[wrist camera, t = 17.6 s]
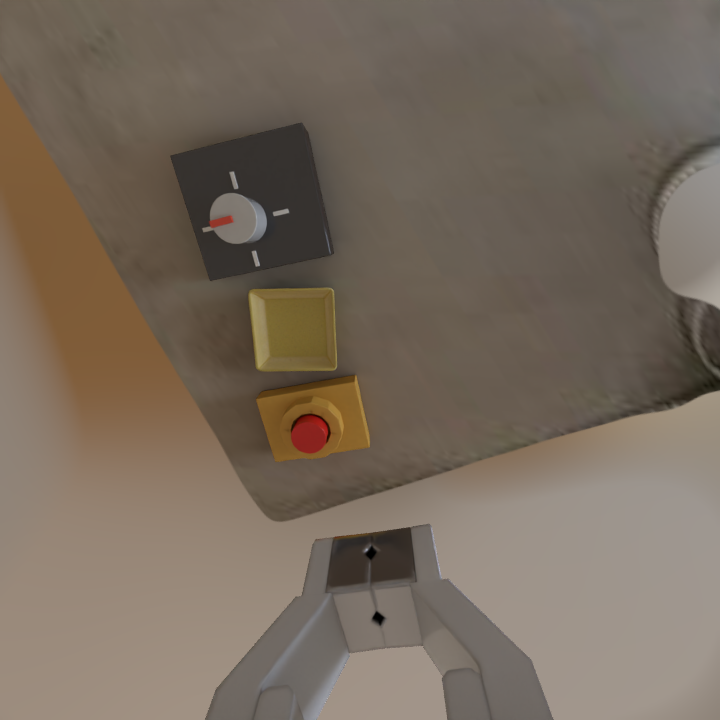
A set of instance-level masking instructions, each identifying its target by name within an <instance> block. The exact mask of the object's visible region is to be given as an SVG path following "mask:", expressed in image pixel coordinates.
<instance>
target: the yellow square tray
mask: <svg viewBox="0 0 720 720" xmlns="http://www.w3.org/2000/svg"><path fill="white" fill-rule="evenodd" d="M248 301H249V309H250V317H251V327H252V335H253V345H254V354H255V366H256V369H257V370H259V371H333V370H335V369H336V368H337V352H336V331H335V307H334V291H333V289H332V288H289V289H286V288H285V289H251V290H250V291H249V293H248Z"/></svg>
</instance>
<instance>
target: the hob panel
mask: <svg viewBox="0 0 720 720" xmlns="http://www.w3.org/2000/svg"><path fill="white" fill-rule="evenodd" d="M171 160H172V163H173V166H174V169H175V172H176V175H177V178H178V182H179V185H180V188H181V191H182V194H183V197H184V200H185V204H186V207H187V210H188V213H189V216H190V219H191V222H192V226H193V229H194V232H195V235H196V238H197V241H198V244H199V247H200V251H201V254H202V257H203V260H204V263H205V266H206V269H207V273H208V276H209V279H210V281H212V280H217V279H221V278H226V277H231V276H235V275H240V274H245V273H249V272H254V271H259V270H263V269H268V268H273V267H278V266H282V265H287V264H292V263H296V262H301V261H306V260H310V259H315V258H320V257H324V256H329V255H333V254H334V250H333V245H332V240H331V236H330V231H329V227H328V222H327V217H326V213H325V208H324V203H323V199H322V194H321V190H320V185H319V180H318V176H317V171H316V167H315V162H314V157H313V153H312V148H311V143H310V139H309V134H308V132H307V130H306V129H305V127H304V125H303V124H302V123H298V124H294V125H290V126H286V127H282V128H278V129H274V130H270V131H266V132H262V133H258V134H254V135H250V136H246V137H242V138H238V139H235V140H231V141H227V142H223V143H219V144H215V145H211V146H207V147H203V148H199V149H195V150H191V151H187V152H183V153H179V154H175V155H171ZM226 193H236V194H240V195H243V196H246V197H249V198H251V199H253V200H255V201H256V202H258V203H259V204H260V205H261V207H262V208H263V210H264V212H265V214H266V219H267V226H266V230H265V233H264V234H263V236H262V237H261V238H260V239H259V240H258V241H256V242H254V243H250V244H232V243H228V242H226V241H224V240H222V239H221V238H220V237H219V236H218V235H217V234H216V233H215V231H214V230H213V228H211V226H210V223H209V221H210V211H211V207H212V205H213V203H214V201H215V200H216V199H217V198H218V197H219V196H221V195H223V194H226Z"/></svg>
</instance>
